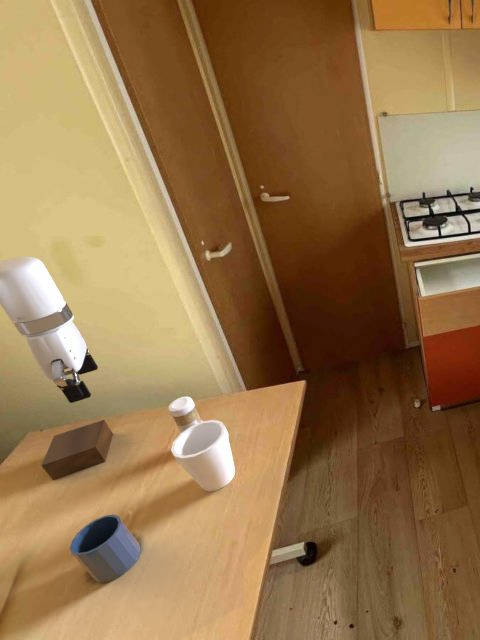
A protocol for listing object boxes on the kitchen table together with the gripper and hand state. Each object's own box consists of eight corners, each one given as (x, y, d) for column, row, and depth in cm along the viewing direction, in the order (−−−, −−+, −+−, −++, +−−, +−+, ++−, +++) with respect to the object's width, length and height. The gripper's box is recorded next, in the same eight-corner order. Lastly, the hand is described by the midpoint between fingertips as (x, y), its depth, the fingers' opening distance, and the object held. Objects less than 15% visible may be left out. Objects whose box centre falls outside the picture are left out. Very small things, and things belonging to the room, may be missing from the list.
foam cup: (182, 492, 91) (159, 452, 85) (218, 455, 99) (199, 416, 93) (218, 502, 89) (197, 462, 83) (252, 464, 97) (235, 424, 91)
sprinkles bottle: (214, 434, 104) (195, 394, 98) (206, 449, 100) (186, 409, 94) (193, 437, 103) (173, 397, 97) (184, 453, 99) (163, 412, 93)
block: (52, 480, 93) (41, 465, 91) (64, 450, 100) (53, 435, 98) (105, 461, 97) (95, 446, 95) (113, 433, 104) (104, 419, 102)
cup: (89, 590, 75) (64, 563, 70) (98, 555, 80) (75, 527, 76) (138, 568, 78) (117, 540, 74) (143, 535, 83) (124, 507, 79)
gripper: (28, 304, 86) (69, 368, 93) (2, 350, 73) (51, 420, 81) (78, 293, 89) (113, 355, 97) (61, 335, 77) (102, 402, 85)
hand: (85, 384), depth 89 cm, fingers open, 9 cm apart
